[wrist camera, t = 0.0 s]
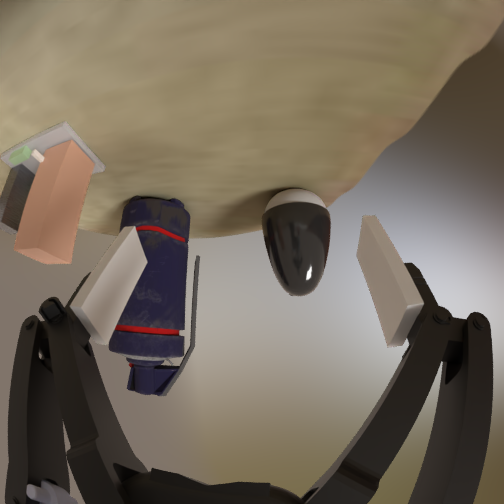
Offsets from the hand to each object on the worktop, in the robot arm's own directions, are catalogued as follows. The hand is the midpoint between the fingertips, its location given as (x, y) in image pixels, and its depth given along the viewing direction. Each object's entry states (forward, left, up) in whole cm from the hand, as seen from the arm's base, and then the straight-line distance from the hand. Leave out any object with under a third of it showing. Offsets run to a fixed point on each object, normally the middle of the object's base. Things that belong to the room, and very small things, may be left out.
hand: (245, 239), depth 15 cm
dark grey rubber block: (+5, -34, -15) cm, 38 cm away
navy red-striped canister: (+24, -17, -16) cm, 34 cm away
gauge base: (+5, -28, -15) cm, 32 cm away
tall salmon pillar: (+5, -23, -14) cm, 27 cm away
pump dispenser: (+23, +5, -16) cm, 28 cm away
